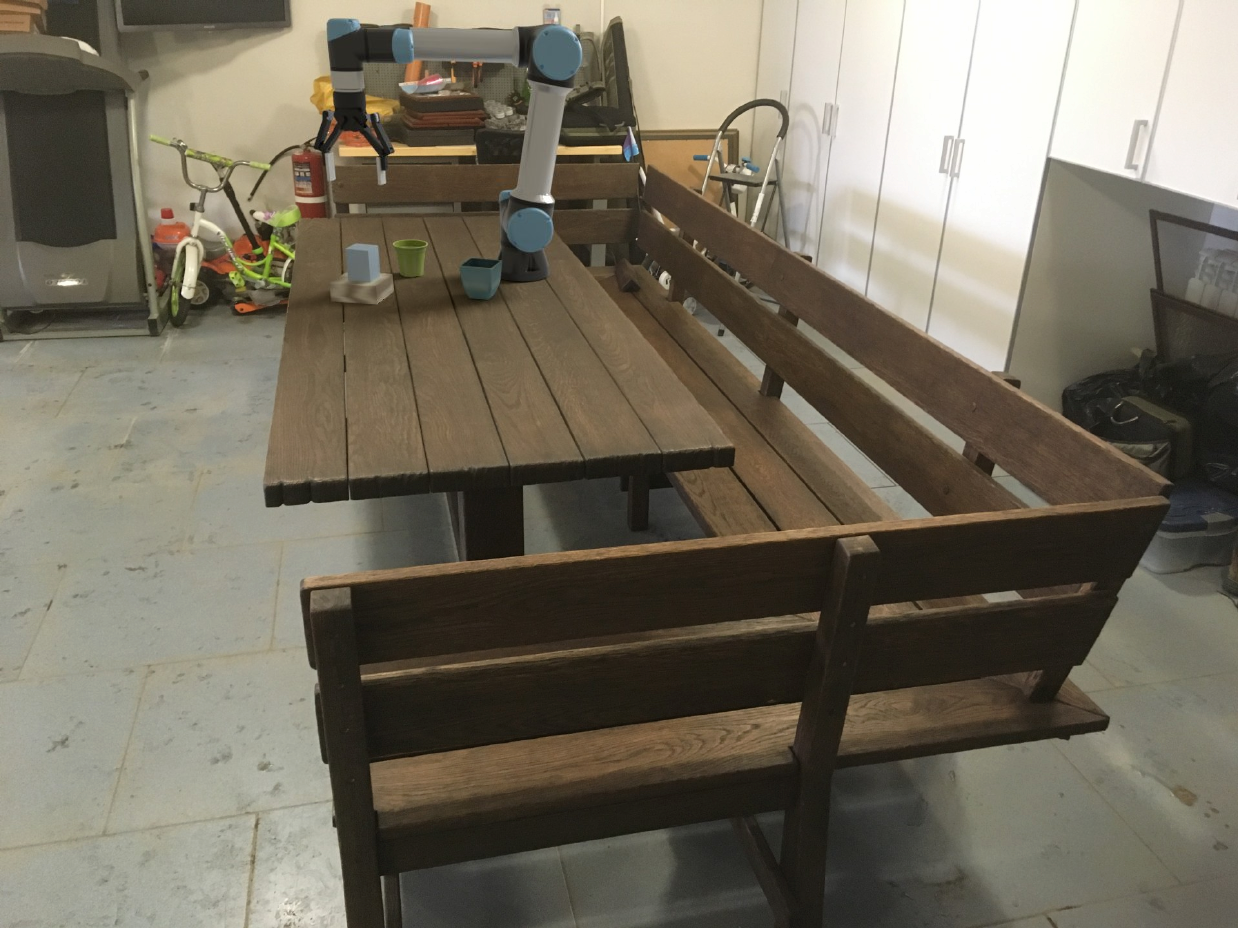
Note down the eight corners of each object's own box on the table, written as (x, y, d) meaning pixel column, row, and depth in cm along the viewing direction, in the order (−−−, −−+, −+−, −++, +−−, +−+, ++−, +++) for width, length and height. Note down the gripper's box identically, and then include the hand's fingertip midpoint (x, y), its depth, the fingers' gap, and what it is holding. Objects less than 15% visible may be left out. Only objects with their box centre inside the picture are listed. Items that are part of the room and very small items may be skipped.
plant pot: (433, 271, 275) (431, 240, 272) (424, 280, 267) (422, 248, 263) (400, 269, 276) (398, 238, 272) (390, 278, 268) (388, 246, 264)
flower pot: (493, 303, 250) (492, 268, 246) (459, 300, 251) (458, 265, 247) (503, 294, 258) (502, 259, 254) (471, 291, 259) (470, 257, 255)
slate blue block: (380, 276, 252) (378, 245, 249) (370, 282, 247) (368, 250, 244) (358, 274, 253) (355, 243, 250) (348, 280, 248) (345, 249, 245)
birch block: (393, 292, 257) (392, 273, 255) (377, 306, 246) (375, 286, 244) (349, 289, 258) (347, 271, 256) (331, 302, 248) (329, 283, 245)
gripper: (404, 91, 234) (410, 183, 243) (309, 86, 239) (318, 176, 248) (390, 94, 227) (396, 188, 236) (292, 89, 233) (302, 181, 242)
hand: (356, 182), depth 242 cm, fingers open, 13 cm apart
